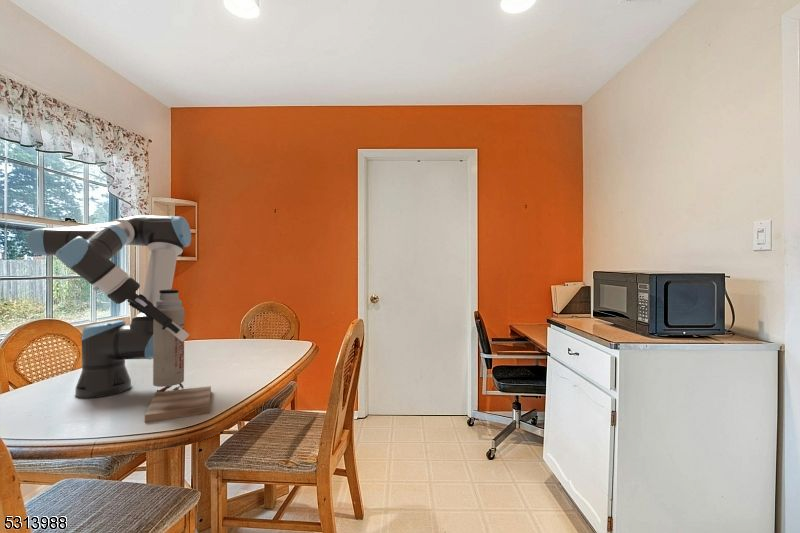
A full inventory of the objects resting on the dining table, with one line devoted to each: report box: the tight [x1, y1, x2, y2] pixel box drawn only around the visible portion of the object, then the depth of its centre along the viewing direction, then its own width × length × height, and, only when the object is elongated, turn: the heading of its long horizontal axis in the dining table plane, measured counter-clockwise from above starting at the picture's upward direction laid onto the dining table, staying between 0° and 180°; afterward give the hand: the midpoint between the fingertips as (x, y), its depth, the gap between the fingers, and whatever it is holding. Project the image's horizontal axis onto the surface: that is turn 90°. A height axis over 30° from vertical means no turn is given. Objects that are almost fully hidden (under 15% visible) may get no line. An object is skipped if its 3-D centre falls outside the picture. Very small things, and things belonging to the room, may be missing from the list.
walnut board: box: [144, 385, 212, 423], centre depth 120 cm, size 20×16×2 cm
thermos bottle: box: [152, 289, 185, 388], centre depth 117 cm, size 8×8×28 cm
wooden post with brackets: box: [156, 383, 185, 392], centre depth 132 cm, size 2×8×4 cm, turn 143°
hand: (181, 335), depth 119 cm, fingers closed on thermos bottle, 8 cm apart
